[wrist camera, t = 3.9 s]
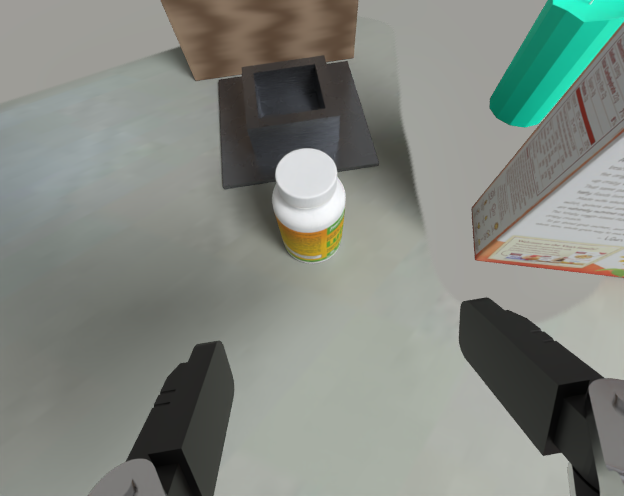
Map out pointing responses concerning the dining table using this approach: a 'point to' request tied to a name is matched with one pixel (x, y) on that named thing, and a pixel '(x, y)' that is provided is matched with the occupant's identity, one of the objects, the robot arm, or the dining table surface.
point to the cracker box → (564, 182)
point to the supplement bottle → (309, 205)
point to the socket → (290, 118)
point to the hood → (260, 32)
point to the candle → (554, 57)
